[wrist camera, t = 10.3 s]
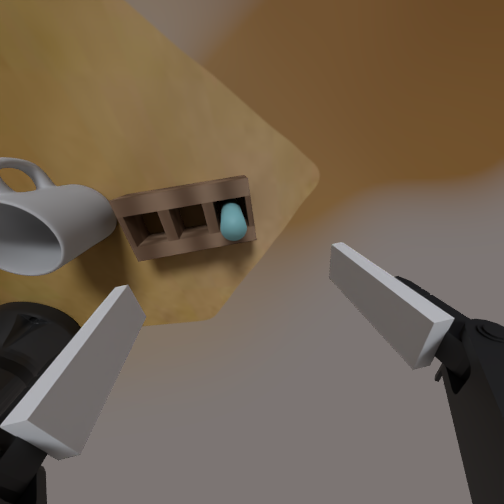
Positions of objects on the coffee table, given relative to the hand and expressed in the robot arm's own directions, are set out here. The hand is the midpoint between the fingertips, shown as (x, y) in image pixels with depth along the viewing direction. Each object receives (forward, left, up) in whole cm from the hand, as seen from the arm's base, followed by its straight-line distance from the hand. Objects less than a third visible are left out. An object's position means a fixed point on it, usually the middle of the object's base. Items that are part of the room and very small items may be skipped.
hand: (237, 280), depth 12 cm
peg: (0, 0, -21) cm, 21 cm away
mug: (-22, +5, -21) cm, 31 cm away
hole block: (-6, 0, -21) cm, 22 cm away
